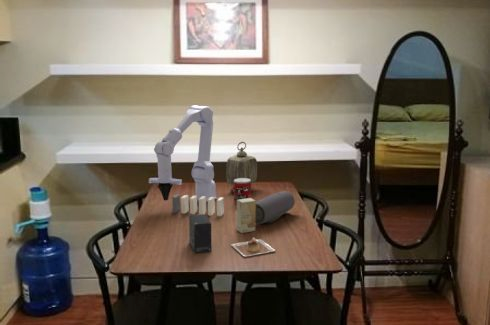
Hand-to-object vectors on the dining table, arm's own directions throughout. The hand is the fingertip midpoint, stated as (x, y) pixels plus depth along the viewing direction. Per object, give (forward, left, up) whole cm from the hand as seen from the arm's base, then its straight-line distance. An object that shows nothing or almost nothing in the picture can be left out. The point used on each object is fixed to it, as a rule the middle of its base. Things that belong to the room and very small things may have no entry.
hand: (166, 199), depth 209 cm
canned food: (-29, +19, -5) cm, 35 cm away
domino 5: (-9, +19, -5) cm, 21 cm away
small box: (+21, +41, -5) cm, 47 cm away
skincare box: (-2, +43, -5) cm, 44 cm away
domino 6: (-10, +22, -5) cm, 25 cm away
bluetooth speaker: (-19, +43, -5) cm, 47 cm away
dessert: (+11, +57, -6) cm, 58 cm away
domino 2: (-4, +8, -5) cm, 10 cm away
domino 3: (-5, +11, -5) cm, 14 cm away
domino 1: (-2, +4, -5) cm, 7 cm away
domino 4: (-7, +15, -5) cm, 17 cm away
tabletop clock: (-45, +6, -5) cm, 46 cm away
